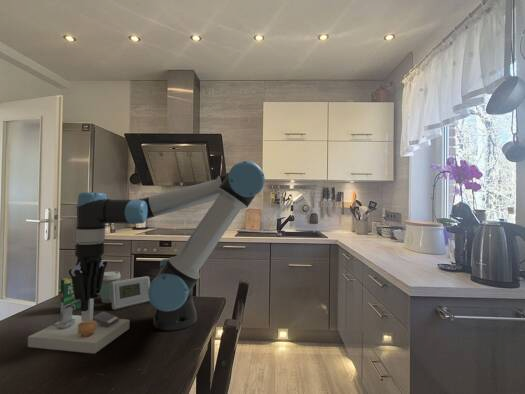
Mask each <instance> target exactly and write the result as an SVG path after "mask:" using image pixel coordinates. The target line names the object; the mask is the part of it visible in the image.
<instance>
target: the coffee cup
mask: <svg viewBox="0 0 525 394" xmlns="http://www.w3.org/2000/svg"><path fill="white" fill-rule="evenodd" d="M121 276H122V275H121V272H120V271H104V276H103V281H102V286H101V291H100V297H101V298H100V299H101V303H103V304H109V303H111V289H110V284H111V283H112V282H116V281H121ZM111 304H112V303H111Z"/></svg>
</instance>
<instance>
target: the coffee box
mask: <svg viewBox="0 0 525 394" xmlns="http://www.w3.org/2000/svg"><path fill="white" fill-rule="evenodd" d="M68 307H73V310H72V312H73V311H76V310H77V311H78V310H81V300H76V299H75V296H74V290H73V284H72V278H71V277H67V278H66V277H65V278H62V279H60V308H59V311H62V310H64V309H66V308H68Z"/></svg>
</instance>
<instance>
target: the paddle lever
mask: <svg viewBox="0 0 525 394" xmlns="http://www.w3.org/2000/svg"><path fill="white" fill-rule="evenodd" d="M72 310H73V307H68V308H66V309H64V310H62V311H60V310H59V311H60V313H59V314H60V315H59V321H60V322H59V321H58V322H59V323H57V322H56V323H57V327H56V328H66V327H68V326H70V325H72V324H74V323H75V319H72V315H73V311H74V310H73V311H72Z"/></svg>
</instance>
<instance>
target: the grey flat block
mask: <svg viewBox="0 0 525 394" xmlns="http://www.w3.org/2000/svg"><path fill="white" fill-rule="evenodd" d="M119 319H120V317H118V316H117V315H115V314H111V313H109V312H107V311H101V312H99V313H97V314H95V315H93V320H94V321H97V322H98V323H100V324H102V325H105V326H107V327H109V326H111V325H112V324H114V323H115V322H117V321H119Z"/></svg>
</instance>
